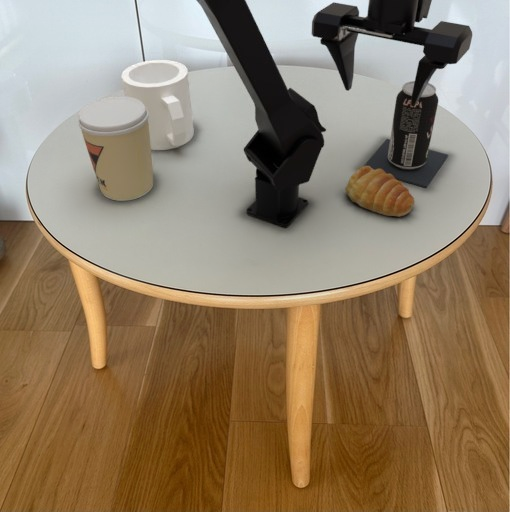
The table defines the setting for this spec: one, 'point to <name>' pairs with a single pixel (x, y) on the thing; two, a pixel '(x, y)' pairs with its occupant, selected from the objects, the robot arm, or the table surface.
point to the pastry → (379, 192)
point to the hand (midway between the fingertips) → (380, 97)
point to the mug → (162, 100)
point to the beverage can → (412, 127)
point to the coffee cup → (118, 146)
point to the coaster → (413, 176)
